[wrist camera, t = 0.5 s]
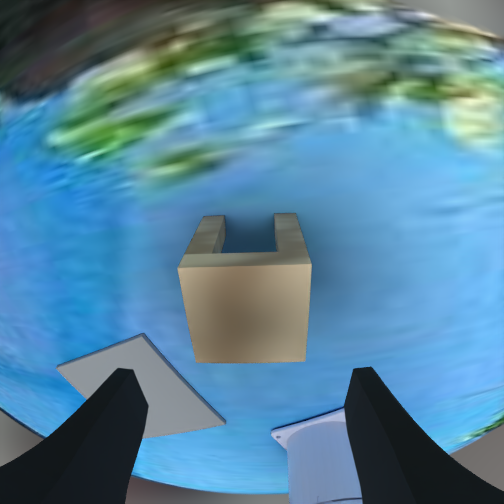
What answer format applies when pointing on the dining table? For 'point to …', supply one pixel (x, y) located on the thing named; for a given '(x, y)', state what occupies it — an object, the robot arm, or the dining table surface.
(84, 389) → the slate mat
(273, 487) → the dining table surface
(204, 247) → the wooden u-frame
